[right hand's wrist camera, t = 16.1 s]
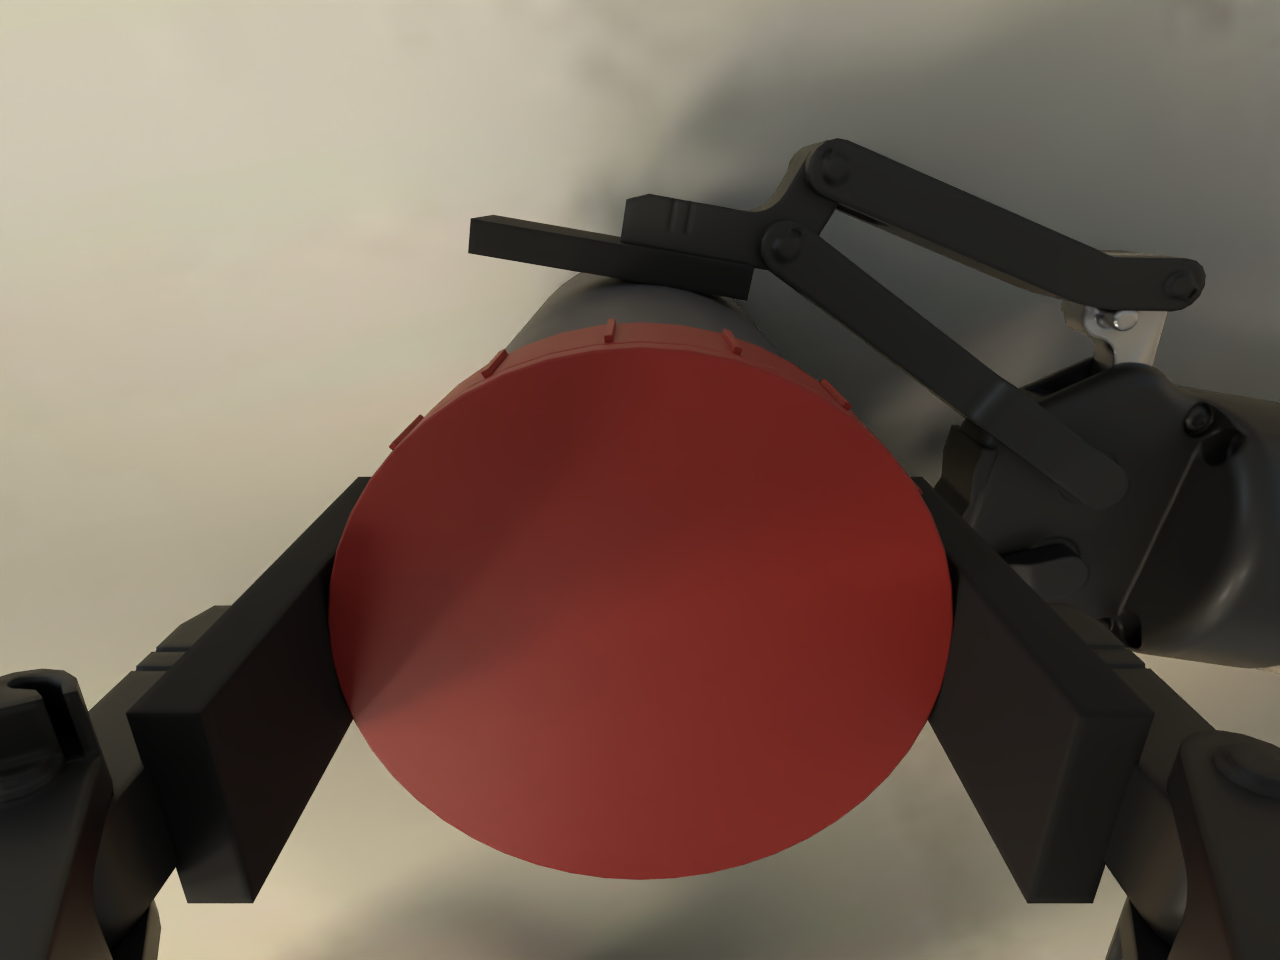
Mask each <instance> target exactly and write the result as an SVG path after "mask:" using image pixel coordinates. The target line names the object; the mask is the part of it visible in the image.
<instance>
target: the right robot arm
mask: <svg viewBox="0 0 1280 960" xmlns="http://www.w3.org/2000/svg"><path fill="white" fill-rule="evenodd" d="M910 478H911V479H912V480H913V481H914V482H915V483H916V484H917V486H918V487H919V488H920V489H921V491H922V493H923V494H922V495H921V497H922V498H923V500H924V502H925V504H926V505H927V507H928V509H929V511H930V512H931V514H932V517H933V520H934V522H935V525H936V528H937V530H938V533H939V536H940V538H941V541H942V543H943V546H944V549H945V553H946V558H947V563H948V568H949V573H950V578H951V583H952V597H953V620H954V621H953V630H952V637H951V643H950V649H949V655H948V660H947V665H946V670H945V675H944V679H943V683H942V686H941V690H940V692H939V695H938V697H937V699H936V701H935V704H934V706H933V708H932V711H931V713H930V715H929V718H928V721H929V723H930V725H931V727H932V729H933V730H934V732H935V734H936V736H937V738H938V740H939V741H940V743H941V745H942V747H943V749H944V751H945V752H946V754H947V756H948V758H949V760H950V762H951V763H952V765H953V767H954V769H955V771H956V773H957V775H958V776H959V778H960V780H961V782H962V784H963V786H964V787H965V789H966V791H967V793H968V795H969V797H970V798H971V800H972V802H973V804H974V806H975V808H976V809H977V811H978V813H979V815H980V817H981V819H982V820H983V822H984V824H985V826H986V828H987V830H988V832H989V833H990V835H991V837H992V839H993V841H994V843H995V844H996V846H997V848H998V850H999V852H1000V854H1001V855H1002V857H1003V859H1004V861H1005V863H1006V865H1007V866H1008V868H1009V870H1010V872H1011V874H1012V876H1013V878H1014V879H1015V881H1016V883H1017V885H1018V887H1019V889H1020V890H1021V892H1022V894H1023V896H1024V898H1025V900H1026V901H1027V903H1093V901H1094V898H1095V895H1096V892H1097V889H1098V886H1099V883H1100V880H1101V877H1102V874H1103V871H1104V868H1105V864H1106V866H1107V867H1108V869H1109V870H1110V871H1111V873H1112V874H1113V876H1114V877H1115V879H1116V880H1117V882H1118V883H1119V884H1120V886H1121V887H1122V889H1123V890H1124V892H1125V893H1126V895H1127V898H1126V901H1125V904H1124V907H1123V910H1122V913H1121V915H1120V918H1119V921H1118V924H1117V927H1116V930H1115V932H1114V935H1113V938H1112V941H1111V944H1110V947H1109V950H1108V952H1107V955H1106V959H1105V960H1280V748H1279V747H1277V746H1275V745H1273V744H1270V743H1267V742H1264V741H1261V740H1258V739H1255V738H1252V737H1250V736H1247V735H1244V734H1239V733H1232V732H1226V731H1220V730H1215V729H1214V728H1213V727H1212V726H1211V725H1210V724H1209V723H1208V722H1207V721H1206V720H1205V719H1204V718H1202V717H1201V716H1200V715H1199V714H1198V713H1197V712H1196V711H1195V710H1194V709H1193V708H1192V707H1191V706H1190V705H1189V704H1187V703H1186V702H1185V701H1184V700H1183V699H1182V698H1181V697H1180V696H1179V695H1178V694H1177V693H1176V692H1175V691H1174V690H1173V689H1171V688H1170V687H1169V686H1168V685H1167V684H1166V683H1165V682H1164V681H1163V680H1162V679H1161V678H1160V677H1159V676H1158V675H1157V674H1155V673H1154V672H1153V671H1152V670H1151V669H1146V668H1145V663H1144V662H1143V661H1142V660H1140V659H1139V658H1138V657H1137V656H1136V655H1135V654H1134V653H1133V652H1132V651H1131V650H1130V649H1125V645H1124V644H1123V643H1122V642H1121V641H1120V640H1119V639H1118V638H1117V637H1116V636H1115V635H1114V634H1113V633H1112V632H1111V631H1109V630H1108V629H1107V628H1106V627H1105V626H1104V625H1103V624H1102V623H1101V622H1099V621H1097V620H1096V619H1094V618H1092V617H1090V616H1088V615H1087V614H1085V613H1083V612H1081V611H1080V610H1078V609H1076V608H1074V607H1072V606H1071V605H1069V604H1067V603H1046V602H1045V601H1044V600H1043V599H1042V598H1041V597H1040V596H1039V595H1038V594H1037V593H1036V592H1035V591H1034V590H1033V589H1032V588H1031V587H1030V586H1029V585H1028V584H1027V583H1026V582H1025V581H1024V580H1023V579H1022V578H1021V577H1020V576H1019V575H1018V574H1017V573H1016V572H1015V571H1014V570H1013V569H1012V568H1011V567H1010V566H1009V565H1008V564H1007V563H1006V562H1005V561H1004V560H1003V559H1002V558H1001V557H1000V555H999V554H998V553H997V552H996V551H995V550H994V549H993V548H992V547H991V546H990V545H989V544H988V543H987V542H986V541H985V540H984V539H983V538H982V537H981V536H980V535H979V534H978V533H977V532H976V531H975V530H974V529H973V528H972V527H971V526H970V525H969V524H968V523H967V522H966V521H965V520H964V519H963V518H962V517H961V516H960V515H959V514H958V513H957V512H956V511H955V510H954V509H953V508H952V507H951V506H950V505H949V504H948V503H947V502H946V501H945V500H944V499H943V498H942V497H941V496H940V495H939V494H938V493H937V492H936V491H935V490H934V489H933V488H932V487H931V486H930V485H929V484H928V483H927V481H926V480H925V479H924V478H923V477H910ZM370 479H371V477H358V478H357V479H356V480H355V481H354V482H353V483H352V484H351V485H350V486H349V487H348V488H347V489H346V490H345V491H344V492H343V493H342V494H341V495H340V496H339V497H338V498H337V499H336V500H335V501H334V502H333V503H332V504H331V505H330V506H329V507H328V508H327V509H326V510H325V511H324V512H323V513H322V514H321V515H320V516H319V517H318V518H317V519H316V520H315V522H314V523H313V524H312V525H311V526H310V527H309V528H308V529H307V530H306V531H305V532H304V533H303V534H302V535H301V536H300V537H299V538H298V539H297V540H296V541H295V542H294V543H293V544H292V545H291V546H290V547H289V548H288V549H287V550H286V551H285V552H284V553H283V554H282V555H281V556H280V557H279V558H278V559H277V560H276V561H275V562H274V563H273V564H272V565H271V566H270V567H269V568H268V569H267V570H266V571H265V572H264V573H263V574H262V575H261V576H260V577H259V578H258V579H257V580H256V581H255V582H254V583H253V584H252V585H251V586H250V587H249V588H248V589H247V590H246V591H245V592H244V593H243V594H242V596H241V597H240V598H239V599H238V600H237V601H236V602H235V603H234V604H233V605H232V606H213V607H211V608H209V609H208V610H206V611H204V612H202V613H201V614H199V615H197V616H195V617H193V618H192V619H190V620H188V621H186V622H185V623H183V624H181V625H180V626H179V627H178V628H176V629H175V630H174V631H173V632H172V633H171V634H170V635H169V636H168V637H167V638H166V639H165V640H164V641H163V642H162V643H161V644H160V645H158V646H157V647H156V649H157V650H156V652H151V653H150V654H149V655H148V656H147V657H146V658H145V659H144V660H143V661H141V662H140V663H139V664H138V665H137V666H136V671H131V672H130V673H129V674H128V675H127V676H126V677H125V678H123V679H122V680H121V681H120V682H119V683H118V684H117V685H116V686H115V687H114V688H113V689H112V690H111V691H110V692H109V693H108V694H106V695H105V696H104V697H103V698H102V699H101V700H100V701H99V702H98V703H97V704H96V705H95V706H94V707H93V708H92V709H91V710H89V711H88V710H87V707H86V704H85V701H84V698H83V696H82V693H81V690H80V687H79V684H78V681H77V678H75V677H74V676H72V675H70V674H69V673H67V672H66V671H63V670H52V669H37V670H29V671H22V672H15V673H11V674H8V675H4V676H1V677H0V960H157V957H158V949H159V941H160V932H161V925H160V919H159V913H158V910H157V907H156V904H155V901H154V898H155V896H156V895H157V893H158V892H159V891H160V889H161V888H162V886H163V885H164V883H165V882H166V880H167V879H168V877H169V876H170V875H171V873H172V872H173V870H174V869H175V867H176V869H177V872H178V875H179V878H180V881H181V884H182V887H183V890H184V893H185V897H186V900H187V903H253V902H254V900H255V899H256V897H257V895H258V893H259V891H260V889H261V888H262V886H263V884H264V882H265V880H266V878H267V876H268V875H269V873H270V871H271V869H272V867H273V865H274V864H275V862H276V860H277V858H278V856H279V854H280V853H281V851H282V849H283V847H284V845H285V843H286V842H287V840H288V838H289V836H290V834H291V832H292V831H293V829H294V827H295V825H296V823H297V821H298V819H299V818H300V816H301V814H302V812H303V810H304V808H305V807H306V805H307V803H308V801H309V799H310V797H311V796H312V794H313V792H314V790H315V788H316V786H317V785H318V783H319V781H320V779H321V777H322V775H323V773H324V772H325V770H326V768H327V766H328V764H329V762H330V761H331V759H332V757H333V755H334V753H335V751H336V750H337V748H338V746H339V744H340V742H341V740H342V739H343V737H344V735H345V733H346V731H347V729H348V728H349V726H350V724H351V722H352V720H353V717H352V715H351V712H350V710H349V708H348V705H347V703H346V701H345V698H344V696H343V694H342V691H341V689H340V685H339V681H338V678H337V674H336V670H335V666H334V661H333V657H332V651H331V645H330V636H329V627H328V606H329V585H330V580H331V575H332V570H333V565H334V560H335V556H336V551H337V547H338V545H339V542H340V539H341V537H342V534H343V531H344V529H345V526H346V523H347V521H348V518H349V516H350V513H351V511H352V510H353V508H354V506H355V504H356V503H357V501H358V499H359V497H360V496H361V494H362V492H363V490H364V489H365V487H366V485H367V483H368V482H369V480H370Z"/></svg>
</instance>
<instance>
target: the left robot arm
mask: <svg viewBox="0 0 1280 960" xmlns="http://www.w3.org/2000/svg"><path fill="white" fill-rule="evenodd" d="M834 210H837V211H840V212H842V213H844V214H847V215H849V216H851V217H854V218H856V219H858V220H861V221H863V222H866V223H868V224H870V225H873V226H875V227H877V228H880V229H882V230H884V231H887V232H889V233H892V234H894V235H896V236H899V237H901V238H903V239H906V240H908V241H910V242H913V243H915V244H917V245H920V246H922V247H925V248H927V249H929V250H932V251H934V252H936V253H939V254H941V255H943V256H946V257H948V258H951V259H953V260H955V261H958V262H960V263H962V264H965V265H967V266H969V267H972V268H974V269H976V270H979V271H981V272H984V273H986V274H988V275H991V276H993V277H995V278H998V279H1000V280H1002V281H1005V282H1007V283H1010V284H1012V285H1014V286H1017V287H1019V288H1022V289H1025V290H1028V291H1031V292H1034V293H1038V294H1042V295H1046V296H1050V297H1054V298H1058V299H1061V300H1063V302H1062V304H1061V310H1062V312H1063V314H1064V319H1065V322H1066V324H1067V325H1068V327H1070V328H1071V329H1072V330H1074V331H1078V332H1081V333H1084V334H1086V335H1087V336H1088V337H1090V339H1091V340H1092V342H1093V344H1094V349H1095V350H1094V356H1093V357H1089V358H1087V359H1085V360H1082V361H1080V362H1078V363H1076V364H1073V365H1071V366H1069V367H1067V368H1064V369H1062V370H1060V371H1058V372H1055V373H1053V374H1051V375H1049V376H1046V377H1044V378H1042V379H1040V380H1037V381H1035V382H1033V383H1031V384H1028V385H1026V386H1024V387H1022V388H1019V389H1018V388H1016V387H1015V386H1014V385H1012V384H1011V383H1009V382H1007V381H1006V380H1004V379H1003V378H1001V377H1000V376H998V375H997V374H996V373H994V372H993V371H992V370H990V369H989V368H988V367H987V366H985V365H984V364H983V363H981V362H980V361H979V360H978V359H976V358H975V357H974V356H972V355H971V354H970V353H969V352H967V351H966V350H965V349H963V348H962V347H961V346H960V345H958V344H957V343H956V342H954V341H953V340H952V339H951V338H949V337H948V336H947V335H945V334H944V333H943V332H942V331H940V330H939V329H938V328H936V327H935V326H934V325H933V324H931V323H930V322H929V321H927V320H926V319H925V318H924V317H922V316H921V315H920V314H918V313H917V312H916V311H915V310H913V309H912V308H911V307H909V306H908V305H907V304H906V303H904V302H903V301H902V300H900V299H899V298H898V297H897V296H895V295H894V294H893V293H891V292H890V291H889V290H887V289H886V288H885V287H884V286H882V285H881V284H880V283H878V282H877V281H876V280H875V279H873V278H872V277H871V276H869V275H868V274H867V273H866V272H864V271H863V270H862V269H860V268H859V267H858V266H857V265H855V264H854V263H853V262H851V261H850V260H849V259H848V258H846V257H845V256H844V255H842V254H841V253H840V252H839V251H837V250H836V249H835V248H833V247H832V246H831V245H830V244H828V243H827V242H826V241H824V240H823V239H822V238H821V237H819V235H820V233H821V231H822V230H823V228H824V227H825V225H826V223H827V222H828V220H829V218H830V217H831V215H832V214H833V212H834ZM468 253H471V254H477V255H483V256H489V257H494V258H500V259H506V260H512V261H518V262H524V263H530V264H535V265H541V266H547V267H553V268H559V269H565V270H571V271H577V272H582V273H588V274H594V275H600V276H606V277H612V278H618V279H624V280H629V281H635V282H641V283H647V284H653V285H659V286H666V287H670V288H676V289H682V290H688V291H694V292H700V293H706V294H712V295H717V296H723V297H729V298H735V299H741V300H747V298H748V294H749V289H750V284H751V280H752V275H753V271H754V268H759V269H765V270H769V271H770V272H771V273H773V274H774V275H775V276H777V277H778V278H779V279H781V280H782V281H783V282H785V283H786V284H787V285H789V286H790V287H791V288H793V289H794V290H795V291H797V292H798V293H799V294H801V295H802V296H803V297H805V298H806V299H807V300H809V301H810V302H811V303H813V304H814V305H815V306H817V307H818V308H819V309H821V310H822V311H823V312H825V313H826V314H827V315H829V316H830V317H831V318H833V319H834V320H835V321H837V322H838V323H839V324H841V325H842V326H843V327H845V328H846V329H847V330H849V331H850V332H851V333H853V334H854V335H855V336H857V337H858V338H859V339H861V340H862V341H863V342H865V343H866V344H867V345H869V346H870V347H871V348H873V349H874V350H875V351H877V352H878V353H879V354H881V355H882V356H883V357H885V358H886V359H887V360H889V361H890V362H891V363H893V364H894V365H895V366H897V367H898V368H899V369H901V370H902V371H903V372H905V373H906V374H907V375H909V376H910V377H911V378H913V379H914V380H915V381H917V382H918V383H919V384H921V385H922V386H923V387H925V388H926V389H927V390H929V391H930V392H931V393H932V394H934V395H935V396H936V397H938V398H939V399H940V400H942V401H943V402H944V403H946V404H947V405H948V406H950V407H951V408H952V409H954V410H955V411H956V412H958V413H959V414H960V415H962V416H963V417H964V418H966V419H965V420H964V422H963V423H962V424H961V426H956V425H952V426H951V429H950V432H949V435H948V438H947V441H946V444H945V447H944V449H943V465H942V476H941V478H940V480H939V481H938V483H937V484H936V486H935V487H934V490H935V491H936V492H937V493H938V494H939V495H940V496H941V497H942V498H943V499H944V500H945V501H946V502H947V503H948V504H949V505H950V506H951V507H952V508H953V509H954V510H955V511H956V512H957V513H958V514H959V515H960V516H961V517H962V518H963V519H964V520H965V521H966V522H967V523H968V524H969V525H970V526H971V527H972V528H973V529H974V530H975V531H976V532H977V533H978V534H979V535H980V536H981V537H982V538H983V539H984V540H985V541H986V542H987V543H988V544H989V545H990V546H991V547H992V548H993V549H994V550H995V551H996V552H997V553H998V554H999V555H1000V557H1001V558H1002V559H1003V560H1004V561H1005V562H1006V563H1007V564H1008V565H1009V566H1010V567H1011V568H1012V569H1013V570H1014V571H1015V572H1016V573H1017V574H1018V575H1019V576H1020V577H1021V578H1022V579H1023V580H1024V581H1025V582H1026V583H1027V584H1028V585H1029V586H1030V587H1031V588H1032V589H1033V590H1034V591H1035V592H1036V593H1037V594H1038V595H1039V596H1040V597H1041V598H1042V599H1043V600H1044V601H1045V602H1046V603H1067V604H1069V605H1071V606H1072V607H1074V608H1076V609H1078V610H1080V611H1081V612H1083V613H1085V614H1087V615H1088V616H1090V617H1092V618H1094V619H1096V620H1097V621H1099V622H1101V623H1102V624H1103V625H1104V626H1105V627H1106V628H1107V629H1108V630H1109V631H1111V632H1112V633H1113V634H1114V635H1115V636H1116V637H1117V638H1118V639H1119V640H1120V641H1121V642H1122V643H1123V644H1124V645H1125V649H1130V650H1131V651H1132V652H1137V653H1142V654H1148V655H1155V656H1162V657H1169V658H1176V659H1183V660H1190V661H1197V662H1204V663H1211V664H1218V665H1225V666H1232V667H1241V668H1256V669H1259V670H1264V671H1269V672H1274V673H1278V674H1280V403H1277V402H1271V401H1265V400H1260V399H1254V398H1248V397H1242V396H1236V395H1230V394H1224V393H1218V392H1212V391H1206V390H1200V389H1194V388H1188V387H1182V386H1176V385H1174V384H1173V383H1172V382H1170V381H1169V380H1168V378H1167V377H1166V376H1165V375H1164V374H1163V373H1162V372H1160V371H1159V370H1158V369H1156V368H1154V367H1152V366H1153V362H1154V358H1155V355H1156V351H1157V348H1158V344H1159V341H1160V337H1161V334H1162V330H1163V327H1164V323H1165V319H1166V316H1167V312H1168V311H1177V310H1182V309H1184V308H1186V307H1188V306H1189V305H1191V304H1192V303H1193V302H1194V301H1195V300H1196V299H1197V298H1198V297H1199V296H1200V294H1201V292H1202V290H1203V288H1204V286H1205V278H1206V275H1205V272H1204V269H1203V267H1202V266H1201V265H1200V264H1199V263H1198V262H1197V261H1195V260H1191V259H1186V258H1178V257H1170V256H1162V255H1153V254H1145V253H1137V252H1129V251H1111V250H1097V249H1094V248H1092V247H1090V246H1088V245H1085V244H1083V243H1081V242H1078V241H1076V240H1074V239H1072V238H1069V237H1067V236H1065V235H1062V234H1060V233H1058V232H1056V231H1053V230H1051V229H1049V228H1047V227H1044V226H1042V225H1040V224H1037V223H1035V222H1033V221H1031V220H1028V219H1026V218H1024V217H1022V216H1019V215H1017V214H1015V213H1012V212H1010V211H1008V210H1006V209H1003V208H1001V207H999V206H996V205H994V204H992V203H990V202H987V201H985V200H983V199H981V198H978V197H976V196H974V195H971V194H969V193H967V192H965V191H962V190H960V189H958V188H955V187H953V186H951V185H949V184H946V183H944V182H942V181H940V180H937V179H935V178H933V177H930V176H928V175H926V174H924V173H921V172H919V171H917V170H914V169H912V168H910V167H908V166H905V165H903V164H901V163H899V162H896V161H894V160H892V159H889V158H887V157H885V156H883V155H880V154H878V153H876V152H873V151H871V150H869V149H867V148H864V147H862V146H860V145H858V144H855V143H853V142H851V141H848V140H844V139H839V138H837V139H833V140H827V141H823V142H819V143H816V144H812V145H810V146H806V147H803V148H802V149H800V150H799V151H798V152H796V153H795V155H794V156H793V158H792V159H791V161H790V163H789V168H788V171H787V173H786V175H785V176H784V178H783V180H782V181H781V183H780V185H779V187H778V188H777V190H776V192H775V193H774V195H773V196H772V197H771V199H770V200H769V201H768V202H766V203H765V204H764V205H763V206H761V207H759V208H757V209H753V210H748V211H747V210H736V209H731V208H725V207H720V206H714V205H708V204H703V203H697V202H692V201H686V200H680V199H675V198H669V197H663V196H658V195H652V194H646V195H642V196H638V197H633V198H629V199H627V200H626V207H625V214H624V221H623V228H622V234H621V237H617V236H612V235H606V234H600V233H594V232H589V231H583V230H577V229H571V228H566V227H560V226H554V225H548V224H543V223H537V222H531V221H525V220H520V219H514V218H508V217H502V216H497V215H490V216H484V217H477V218H471V223H470V237H469V250H468Z"/></svg>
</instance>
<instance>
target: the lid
mask: <svg viewBox="0 0 1280 960" xmlns="http://www.w3.org/2000/svg"><path fill="white" fill-rule="evenodd" d="M851 407H852V405H851V404H850V403H849V402H848V401H847V400H846V399H845V398H844V397H843V396H842V395H841V394H840V393H839V392H838V391H837V390H836V389H835V388H834V387H833V386H832V385H831V384H830V383H829V382H828V381H826V380H825V379H822V381H821V382H818V381H817V380H815V379H814V378H813V377H811V376H810V375H808V374H807V373H805V372H804V371H803V370H801V369H800V368H798V367H797V366H795V365H794V364H793V363H791V362H789V361H787V360H785V359H783V358H781V357H779V356H777V355H775V354H773V353H771V352H769V351H767V350H765V349H763V348H761V347H759V346H757V345H754V344H751V343H748V342H745V341H742V340H740V339H737V338H735V337H734V335H733V334H732V332H731V331H730V330H727V329H724V330H723V333H718V332H713V331H709V330H704V329H699V328H694V327H689V326H684V325H674V324H659V323H644V322H638V323H622V324H616V319H615V318H614V319H608V322H607V325H598V326H593V327H588V328H583V329H578V330H573V331H568V332H563V333H559V334H556V335H553V336H551V337H548V338H545V339H542V340H539V341H536V342H533V343H530V344H527V345H524V346H522V347H520V348H518V349H516V350H514V351H512V352H510V353H507V351H506V350H505V349H503V350H501V351H500V352H498V354H497V355H496V356H495V357H494V358H493V359H492V360H491V362H490V363H489V364H487V365H486V366H485V367H483V368H482V369H480V370H479V371H477V372H476V373H475V374H473V375H472V376H470V377H469V378H467V379H466V380H464V381H463V382H462V383H460V384H459V385H458V386H456V387H455V388H454V389H453V390H452V391H451V392H450V393H449V394H448V395H447V396H446V397H445V398H444V399H443V400H441V401H440V402H439V403H438V404H437V405H436V406H435V407H434V408H433V409H432V410H431V411H430V412H429V413H428V414H427V415H426V416H425V417H423V416H422V415H419V416H418V417H417V418H416V419H415V420H414V421H413V422H412V423H411V424H410V425H409V426H408V427H407V428H406V429H405V430H404V431H403V432H402V433H401V434H400V435H399V436H398V437H397V438H396V439H395V440H394V441H393V442H392V444H391V445H390V446H389V448H390V449H392V450H393V451H392V452H391V454H390V455H389V456H388V457H387V459H386V460H385V461H384V462H383V464H382V465H381V466H380V467H379V469H378V470H377V471H376V472H375V474H374V475H373V476H372V477H371V479H370V480H369V482H368V483H367V485H366V487H365V489H364V490H363V492H362V494H361V496H360V497H359V499H358V501H357V503H356V504H355V506H354V508H353V510H352V511H351V513H350V516H349V518H348V521H347V523H346V526H345V529H344V531H343V534H342V537H341V539H340V542H339V545H338V547H337V551H336V556H335V560H334V565H333V570H332V575H331V580H330V585H329V606H328V627H329V636H330V645H331V651H332V657H333V661H334V666H335V670H336V674H337V678H338V681H339V685H340V689H341V691H342V694H343V696H344V698H345V701H346V703H347V705H348V708H349V710H350V712H351V715H352V717H353V719H354V721H355V723H356V725H357V726H358V728H359V730H360V731H361V733H362V735H363V736H364V738H365V740H366V741H367V743H368V744H369V746H370V748H371V749H372V751H373V752H374V753H375V754H376V756H377V757H378V758H379V759H380V761H381V762H382V763H383V764H384V766H385V767H386V768H387V770H388V771H389V772H390V773H391V775H392V776H393V777H394V778H395V779H396V780H397V781H398V782H399V783H400V784H401V785H402V786H403V787H404V788H405V789H406V790H408V791H409V792H410V793H411V794H412V795H413V796H414V797H415V798H416V799H417V800H418V801H419V802H421V803H422V804H423V805H424V806H426V807H427V808H428V809H430V810H431V811H432V812H433V813H435V814H436V815H437V816H439V817H440V818H441V819H443V820H444V821H445V822H447V823H449V824H450V825H452V826H454V827H455V828H457V829H459V830H460V831H462V832H464V833H465V834H467V835H468V836H470V837H472V838H473V839H475V840H478V841H480V842H482V843H484V844H486V845H488V846H490V847H492V848H495V849H497V850H499V851H501V852H503V853H505V854H508V855H511V856H514V857H517V858H520V859H522V860H525V861H528V862H531V863H534V864H537V865H540V866H544V867H549V868H553V869H557V870H561V871H565V872H569V873H574V874H581V875H588V876H595V877H602V878H616V879H637V880H644V879H665V878H679V877H686V876H693V875H700V874H707V873H712V872H716V871H720V870H725V869H729V868H733V867H737V866H741V865H745V864H747V863H750V862H753V861H756V860H759V859H762V858H765V857H767V856H770V855H773V854H776V853H778V852H780V851H782V850H785V849H787V848H789V847H791V846H793V845H795V844H797V843H799V842H802V841H804V840H806V839H808V838H810V837H811V836H813V835H814V834H816V833H818V832H819V831H821V830H823V829H824V828H826V827H828V826H829V825H831V824H833V823H834V822H836V821H837V820H839V819H840V818H841V817H843V816H844V815H845V814H846V813H848V812H849V811H850V810H852V809H853V808H854V807H856V806H857V805H858V804H859V803H861V802H862V801H863V800H865V799H866V798H867V797H868V796H869V795H870V794H871V793H872V792H873V791H874V790H875V789H876V788H877V787H878V786H879V785H880V784H881V783H882V782H883V781H884V780H885V779H886V778H887V777H888V776H889V775H890V774H891V772H892V771H893V770H894V769H895V767H896V766H897V765H898V764H899V762H900V761H901V760H902V759H903V757H904V756H905V755H906V754H907V752H908V751H909V750H910V748H911V747H912V745H913V743H914V742H915V740H916V738H917V737H918V735H919V733H920V732H921V730H922V728H923V727H924V725H925V724H926V722H927V720H928V718H929V715H930V713H931V711H932V708H933V706H934V704H935V701H936V699H937V697H938V695H939V692H940V690H941V686H942V683H943V679H944V675H945V670H946V665H947V660H948V655H949V649H950V643H951V637H952V630H953V621H954V620H953V597H952V583H951V578H950V573H949V568H948V563H947V558H946V553H945V549H944V546H943V543H942V541H941V538H940V536H939V533H938V530H937V528H936V525H935V522H934V520H933V517H932V514H931V512H930V511H929V509H928V507H927V505H926V504H925V502H924V500H923V498H922V497H921V495H922V494H923V493H922V491H921V489H920V488H919V487H918V486H917V484H916V483H915V482H914V481H913V480H912V479H911V478H910V477H909V476H908V474H907V473H906V472H905V471H904V469H903V468H902V467H901V465H900V464H899V463H898V462H897V460H896V459H895V458H894V457H893V455H892V454H891V453H890V452H889V450H888V449H887V448H886V447H885V446H884V445H883V444H882V443H881V442H880V441H879V440H878V439H877V438H876V436H875V435H874V434H873V433H872V432H871V431H870V430H869V429H868V428H867V427H866V426H865V425H864V424H863V423H862V422H861V421H860V420H859V419H858V418H857V417H856V416H855V415H854V414H853V413H852V412H851V411H850V410H849V409H850V408H851Z"/></svg>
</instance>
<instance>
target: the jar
mask: <svg viewBox="0 0 1280 960" xmlns="http://www.w3.org/2000/svg"><path fill="white" fill-rule="evenodd" d="M614 318H615V319H616V324H622V323H638V322H644V323H659V324H674V325H684V326H689V327H694V328H699V329H704V330H709V331H713V332H718V333H723V330H724V329H727V330H730V331H731V332H732V334H733V335H734V337H735V338H737V339H740V340H742V341H745V342H748V343H751V344H754V345H757V346H759V347H761V348H763V349H765V350H767V351H769V352H771V353H773V354H775V355H777V356H779V357H781V358H783V357H782V356H781V355H780V354H779V352H778V351H777V350H776V349H775V348H774V347H773V346H772V344H771V343H770V342H769V341H768V340H767V339H766V337H765V336H764V335H763V334H762V333H761V332H760V330H759V329H758V328H757V327H756V326H755V325H754V324H753V322H752V321H751V320H750V319H749V318H748V317H747V315H746V314H745V313H744V312H743V311H742V310H741V309H740V307H739V306H738V305H737V304H736V303H735V302H734V300H733V299H732V298H729V297H723V296H717V295H712V294H706V293H700V292H694V291H688V290H682V289H676V288H670V287H666V286H659V285H653V284H647V283H641V282H635V281H629V280H624V279H618V278H612V277H606V276H600V275H594V274H588V273H580V274H578V275H576V276H575V277H573V278H572V279H570V280H569V281H567V282H566V283H565V284H563V285H562V286H561V287H560V288H559V289H558V290H557V291H555V292H554V293H553V294H552V295H551V296H550V297H549V298H548V300H547V301H546V302H545V303H544V304H543V305H542V307H541V308H540V309H539V310H538V311H537V312H536V314H535V315H534V316H533V317H532V318H531V319H530V321H529V322H528V323H527V324H526V325H525V326H524V328H523V329H522V330H521V331H520V332H519V333H518V335H517V336H516V337H515V338H514V339H513V340H512V342H511V343H510V344H509V345H508V346H507V347H506V349H505V350H506V351H507V353H510V352H512V351H514V350H516V349H518V348H520V347H522V346H524V345H527V344H530V343H533V342H536V341H539V340H542V339H545V338H548V337H551V336H553V335H556V334H559V333H563V332H568V331H573V330H578V329H583V328H588V327H593V326H598V325H607V322H608V319H614ZM783 359H784V358H783Z"/></svg>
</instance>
